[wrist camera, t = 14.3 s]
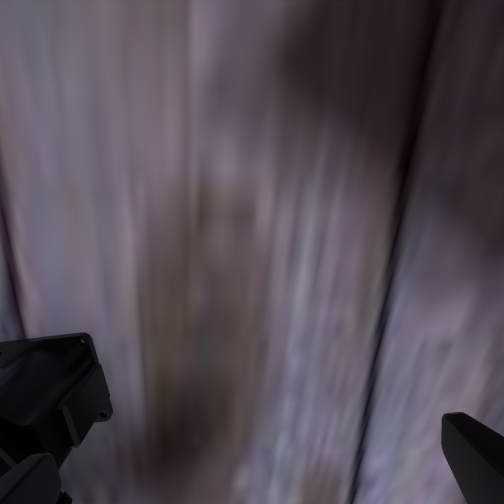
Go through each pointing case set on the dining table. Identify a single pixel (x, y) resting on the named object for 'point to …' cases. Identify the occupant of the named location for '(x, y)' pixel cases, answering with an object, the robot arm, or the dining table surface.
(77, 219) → the dining table surface
